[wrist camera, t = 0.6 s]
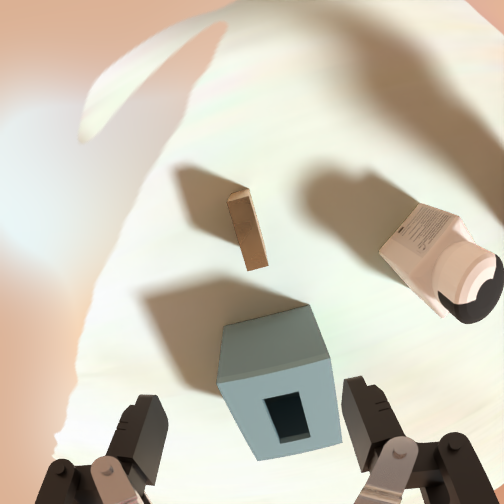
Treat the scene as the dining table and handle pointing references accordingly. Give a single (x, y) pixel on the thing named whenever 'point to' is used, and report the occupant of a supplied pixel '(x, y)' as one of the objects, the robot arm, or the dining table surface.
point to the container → (445, 264)
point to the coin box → (280, 384)
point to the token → (247, 229)
